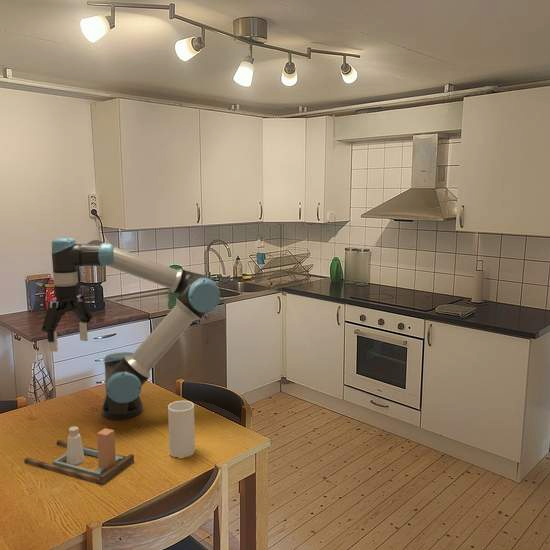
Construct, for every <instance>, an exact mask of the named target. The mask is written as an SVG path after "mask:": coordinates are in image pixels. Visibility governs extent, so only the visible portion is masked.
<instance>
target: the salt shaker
mask: <svg viewBox="0 0 550 550" xmlns="http://www.w3.org/2000/svg"><path fill="white" fill-rule="evenodd" d="M68 433H69V434H68V436H67V439H66V440H67V441H66V442H67V447H66V453H67V457H66V460H65V463H67V464H71V465H74V466H78V465H79V464H82V463H84V460H85V454H84V453H83V447H82V446H83V443H82V437H81V436H82V435H81V433H79V427H78V426H75V425H74V426H70V427H68Z"/></svg>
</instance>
